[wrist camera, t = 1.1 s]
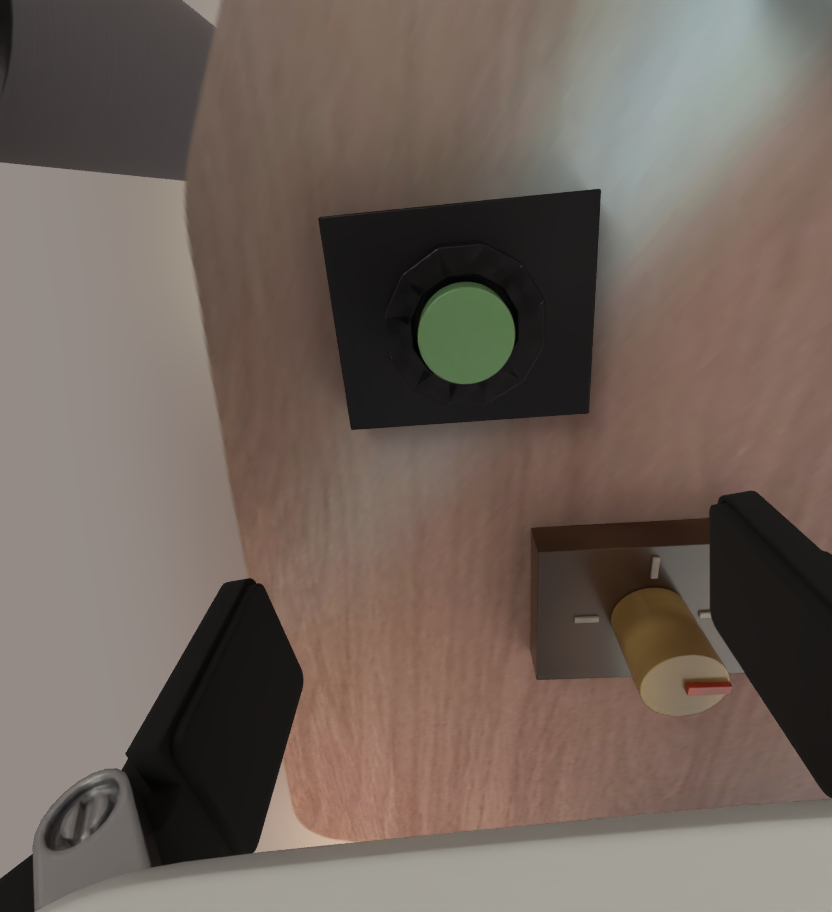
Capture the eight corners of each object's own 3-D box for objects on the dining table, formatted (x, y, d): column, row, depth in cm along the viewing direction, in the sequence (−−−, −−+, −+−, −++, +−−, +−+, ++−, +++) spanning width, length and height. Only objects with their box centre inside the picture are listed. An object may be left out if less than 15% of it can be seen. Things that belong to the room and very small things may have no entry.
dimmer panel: (530, 650, 36) (536, 682, 33) (530, 527, 32) (538, 554, 29) (727, 643, 35) (748, 675, 32) (755, 515, 31) (782, 541, 28)
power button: (422, 376, 24) (421, 388, 22) (414, 285, 22) (412, 291, 21) (510, 369, 24) (515, 381, 22) (509, 276, 22) (515, 282, 20)
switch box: (356, 415, 29) (345, 445, 25) (327, 216, 25) (308, 218, 21) (578, 399, 28) (599, 427, 24) (587, 190, 24) (614, 187, 20)
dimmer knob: (608, 645, 32) (637, 723, 27) (613, 588, 30) (646, 661, 25) (682, 643, 32) (725, 720, 27) (692, 585, 30) (740, 657, 25)
